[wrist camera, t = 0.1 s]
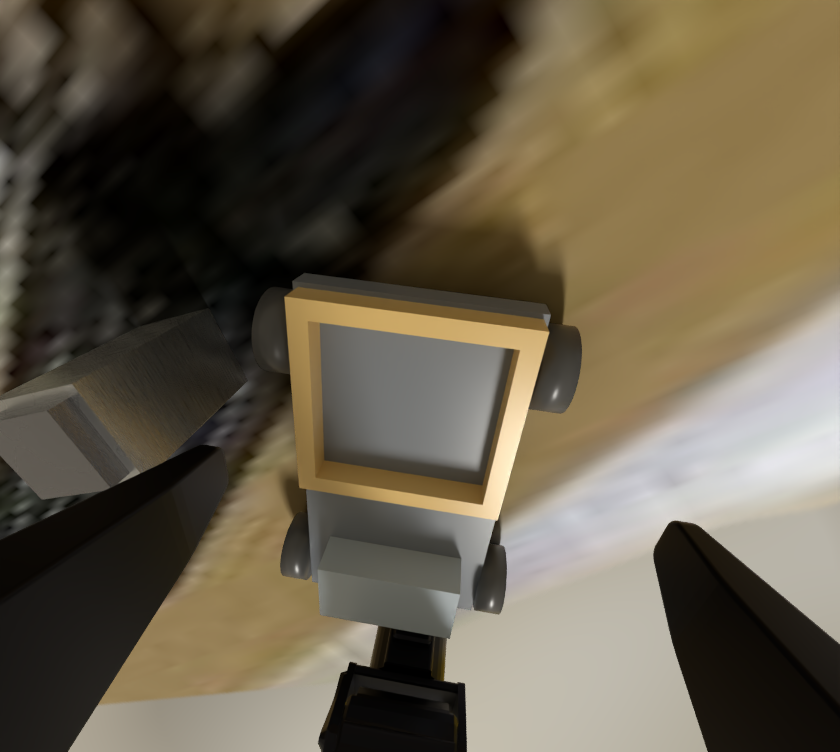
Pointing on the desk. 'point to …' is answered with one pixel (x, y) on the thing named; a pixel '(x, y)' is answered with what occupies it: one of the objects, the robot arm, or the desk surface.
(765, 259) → the desk surface
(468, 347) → the truck
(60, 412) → the grey block
